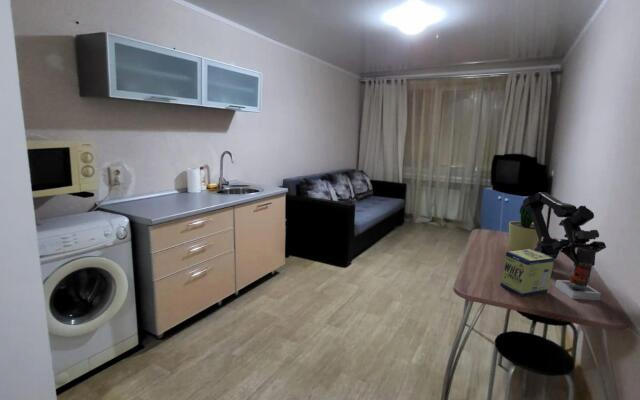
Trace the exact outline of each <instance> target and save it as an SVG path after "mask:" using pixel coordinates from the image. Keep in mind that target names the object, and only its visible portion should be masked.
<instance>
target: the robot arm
mask: <svg viewBox="0 0 640 400" xmlns="http://www.w3.org/2000/svg"><path fill="white" fill-rule="evenodd" d="M522 205H524V208H525V210H526V211H527V212H528V213H529V214H531V217H532V220H533V223H532V224H534V226H535V230H536V233H537V236H538V238H537V240H538V241H537V242H536V247H534V248H533V250H536V251H538V252H541V253H543V254H546V255H548V256H551V257H553V258H555V259H554V260H556V259H557V257H558V256H559V254H560V253H563V254H564V255H565V256H566V257H567V258H569V259H570V261H572V262H573V264H574V263H575V264H576V265H579V262H578V258H577V256H576V253H577V252H576V249H578V247H580V246H581V247H588V248H591V249H594V250H596V253H595V257H594V261H593V265H592V267H594V266H595V265H596V261H595V260H596V254H597V253H599V252H602V251H603V250H605V249H607V245H606V243H605V242H604V241H600V240H599V241H597V239H598V238H600V233H599V231H598V229H590V230H584V229H581V226H584V225H586V224H587V223H588V222H590V221H591V220H593V219H594V218H595V213H594V212H593V211H592V210H591V209H590V208H588V207H587V206H586V205H580V206H578V208H577V207H576V205H573V204H572V203H568V202H567V203H566V202H563V201H561V200H559V199H557V198H556V197H553V196H552V195H550V193H548V192H539V191H538V192H537V193H535V194H533V195H528V196H527V197H526V198H525V199H523V201H522ZM545 206H547V207H549V208H550V209H552V210H553V211H552V213H553V214H554V215H555V216H556V217H557V218H563V219H561V220H560V222H559V223H558V226H561V227H563V230H564V232H565V234H564V235H563V238H566V239H563V238H558V239H556V238H552V237H551V235H550V233H549V229H548V227H547V223H546V221H545V218H544V215H543V212H542V211H543V209H544V207H545ZM590 240H594V241H592V242H590ZM589 242H590V243H589Z"/></svg>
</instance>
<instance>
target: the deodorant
mask: <svg viewBox="0 0 640 400" xmlns="http://www.w3.org/2000/svg"><path fill="white" fill-rule="evenodd" d="M576 249H577V250H576V252H575V253H576V256H577V258H578V262H579V265H576V264H575V263H574V262H573V266H572V270H571V273H570V278H569V281H570V282H571V283H573V284H575V285H579V286H587V285H588V284H589V280H590V277H591V272H592V270H593V269H592V268H593V266H592V265H593V261H594V257H595V258H596V255H595V253H596V254H597V252H596V250H594V249H591V248H588V247H581V246H580V247H578V248H576Z"/></svg>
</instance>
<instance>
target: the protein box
mask: <svg viewBox="0 0 640 400" xmlns="http://www.w3.org/2000/svg"><path fill="white" fill-rule="evenodd" d="M504 258H505V259H504V264H503V267H502V268H503V269H502V273H501V278H500V279H501V280H500V287H502V288H504V289H506V290H508V291H509V292H512V293H513V294H515V295H517V296H519V297H527V296H533V295H539V294H545V293H548V291H549V285H550V281H551V276H552V271H553V268H554V262H555V260H556V259H555V258H553V257H551V256H548V255H546V254H543V253H541V252H538V251H536V250H534V248H533V249H527V250H519V251H511V250H509V251H506V252H505V257H504Z"/></svg>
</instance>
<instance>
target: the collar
mask: <svg viewBox="0 0 640 400" xmlns="http://www.w3.org/2000/svg"><path fill="white" fill-rule="evenodd" d="M555 288H557V289H558V290H559V291H561V292H562V293H564V294H565V295H567V296H568V297H569V298H571V299H573V300H574V299H575V300H587V301H588V299H589V301H600V299H601V295H602V293H601V292H599V291H598V290H597V289H595V288H593V287H591V286H590V285H588V284H587V286H579V285H575V284H573V283H571V282H570V280H568V279H567V280H565V279H556V281H555ZM575 289H577V290H575Z"/></svg>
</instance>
